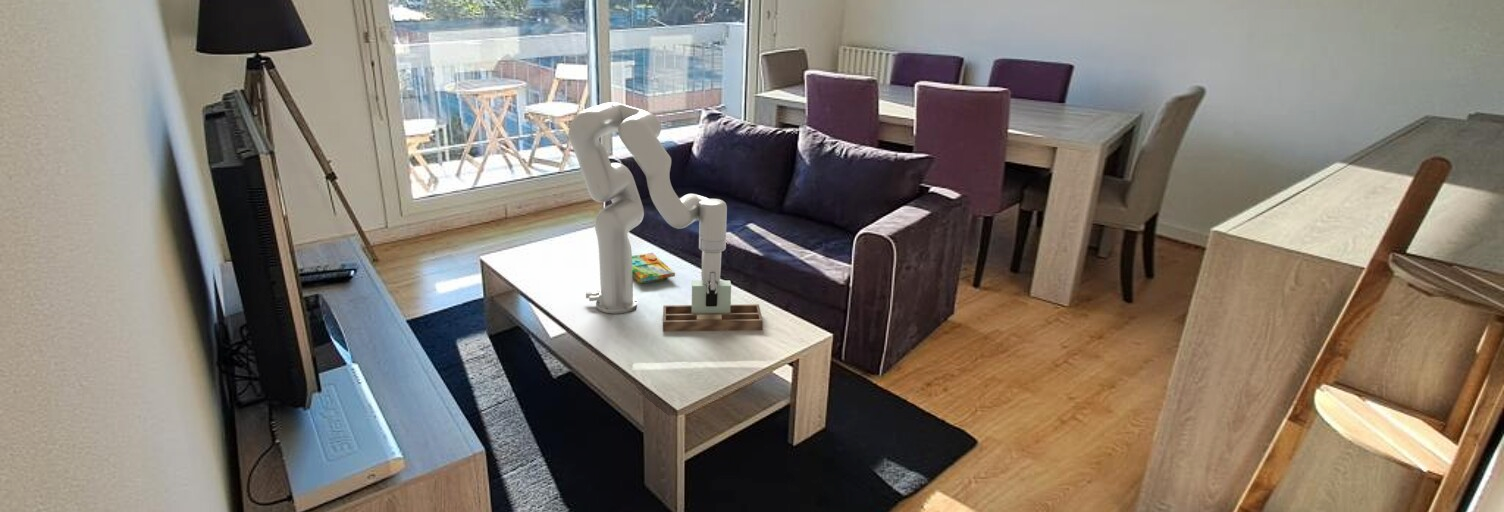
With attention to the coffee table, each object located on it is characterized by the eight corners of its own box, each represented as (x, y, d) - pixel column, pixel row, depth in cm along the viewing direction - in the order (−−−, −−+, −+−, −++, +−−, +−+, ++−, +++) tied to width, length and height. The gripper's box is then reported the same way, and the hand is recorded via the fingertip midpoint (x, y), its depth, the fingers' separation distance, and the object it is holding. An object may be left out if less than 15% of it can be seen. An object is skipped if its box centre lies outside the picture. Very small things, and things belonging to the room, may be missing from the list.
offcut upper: (696, 323, 220) (696, 318, 219) (696, 319, 222) (696, 314, 222) (721, 323, 221) (721, 318, 220) (721, 319, 223) (721, 314, 223)
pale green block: (691, 317, 224) (692, 286, 220) (691, 311, 228) (692, 280, 224) (730, 317, 225) (731, 286, 222) (729, 311, 229) (730, 280, 225)
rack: (663, 335, 219) (662, 321, 217) (663, 318, 229) (663, 305, 228) (762, 333, 222) (762, 320, 220) (758, 317, 232) (758, 304, 230)
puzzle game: (651, 250, 269) (674, 270, 253) (652, 262, 271) (674, 283, 254) (619, 255, 263) (640, 276, 247) (619, 268, 265) (641, 289, 249)
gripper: (698, 232, 226) (697, 290, 232) (699, 253, 210) (698, 315, 217) (724, 233, 227) (722, 290, 233) (727, 254, 211) (725, 315, 218)
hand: (711, 301), depth 225 cm, fingers closed on pale green block, 4 cm apart
